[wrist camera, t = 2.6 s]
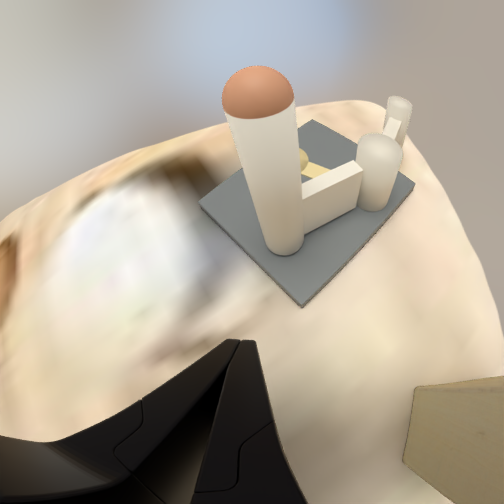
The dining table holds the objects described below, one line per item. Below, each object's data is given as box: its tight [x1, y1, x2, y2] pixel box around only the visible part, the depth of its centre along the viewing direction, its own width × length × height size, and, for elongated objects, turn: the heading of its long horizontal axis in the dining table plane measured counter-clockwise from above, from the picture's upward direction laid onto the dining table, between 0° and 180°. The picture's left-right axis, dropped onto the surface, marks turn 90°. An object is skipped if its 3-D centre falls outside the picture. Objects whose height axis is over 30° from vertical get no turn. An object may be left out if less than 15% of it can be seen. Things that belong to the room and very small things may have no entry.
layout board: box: [198, 119, 416, 308], centre depth 25 cm, size 16×14×1 cm
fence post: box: [222, 66, 363, 255], centre depth 16 cm, size 8×3×15 cm, turn 116°
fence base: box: [355, 96, 412, 212], centre depth 21 cm, size 10×4×8 cm, turn 146°
